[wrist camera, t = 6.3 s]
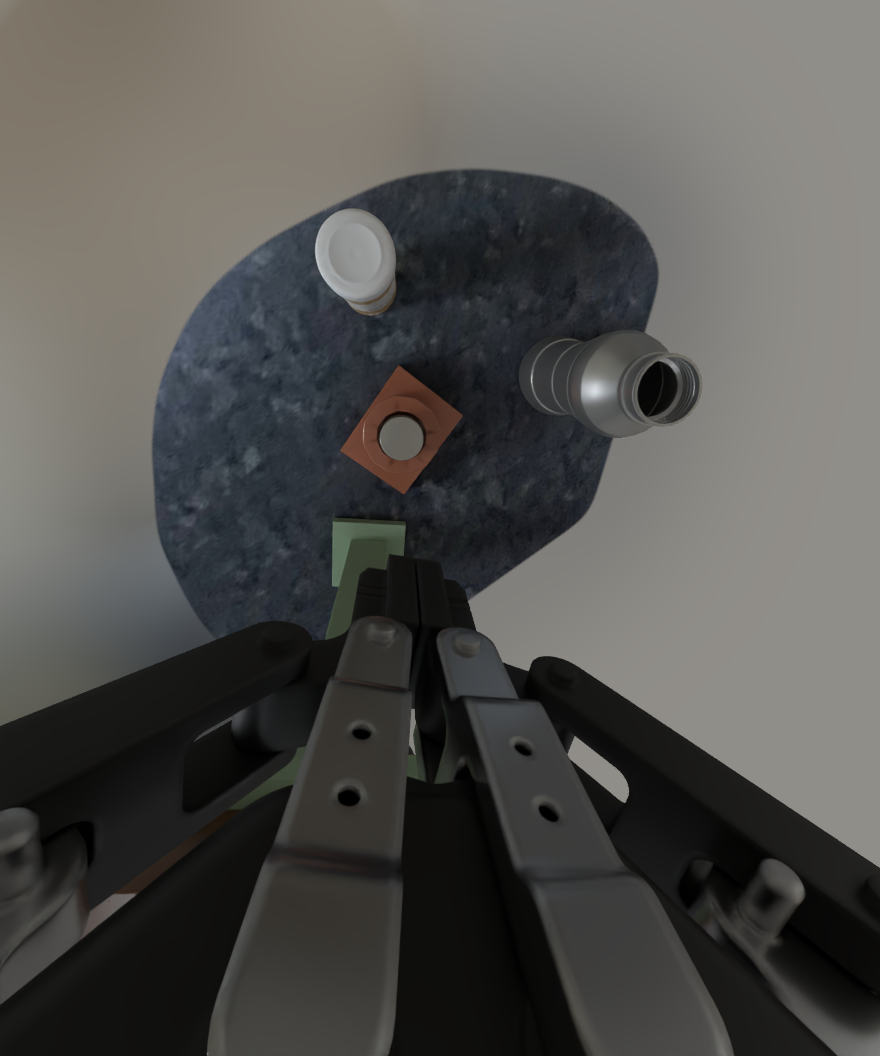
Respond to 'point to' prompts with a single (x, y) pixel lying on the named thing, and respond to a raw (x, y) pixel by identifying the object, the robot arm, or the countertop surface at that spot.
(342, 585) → the shelf stand
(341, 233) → the sprinkles bottle
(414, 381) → the orange button pad
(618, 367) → the grey bottle
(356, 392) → the countertop surface
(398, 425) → the push button
